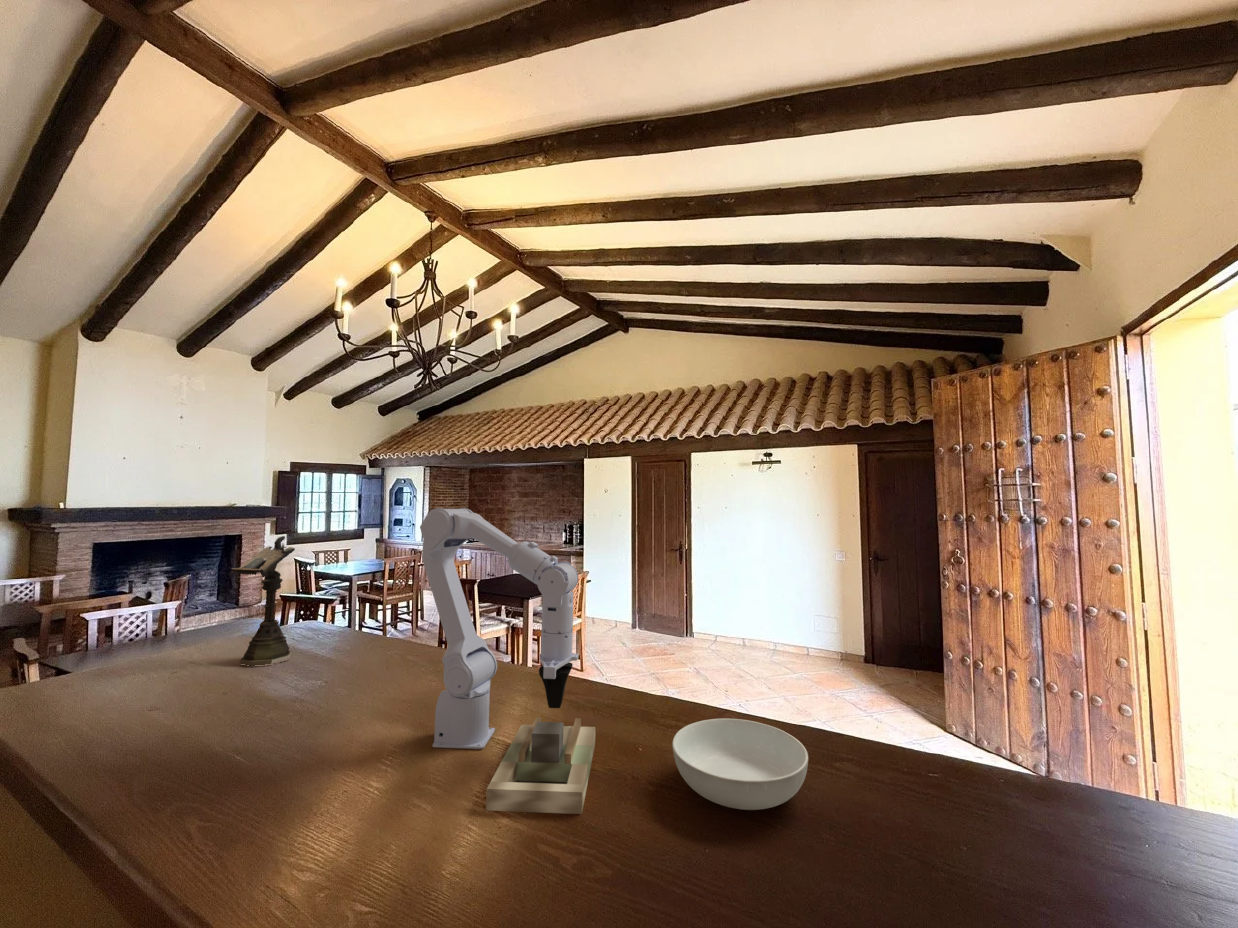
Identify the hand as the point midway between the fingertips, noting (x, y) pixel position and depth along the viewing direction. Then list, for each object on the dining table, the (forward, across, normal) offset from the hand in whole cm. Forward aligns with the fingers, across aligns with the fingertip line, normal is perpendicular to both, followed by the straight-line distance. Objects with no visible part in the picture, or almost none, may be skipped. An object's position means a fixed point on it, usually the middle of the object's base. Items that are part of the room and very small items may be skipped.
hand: (554, 706), depth 93 cm
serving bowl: (+8, -10, -31) cm, 34 cm away
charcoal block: (+5, -8, 0) cm, 9 cm away
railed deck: (+8, -7, 0) cm, 11 cm away
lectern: (+9, +45, +89) cm, 100 cm away
